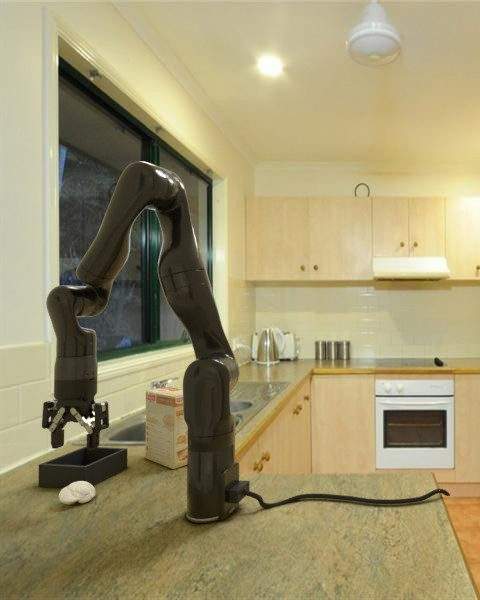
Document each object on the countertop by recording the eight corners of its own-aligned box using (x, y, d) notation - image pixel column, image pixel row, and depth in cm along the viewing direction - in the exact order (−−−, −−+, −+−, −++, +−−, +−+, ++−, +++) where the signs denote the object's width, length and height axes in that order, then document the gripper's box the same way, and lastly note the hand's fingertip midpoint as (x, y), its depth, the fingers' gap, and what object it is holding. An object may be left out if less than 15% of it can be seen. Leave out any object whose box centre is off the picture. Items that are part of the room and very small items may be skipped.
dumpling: (83, 495, 93) (89, 477, 94) (97, 503, 91) (103, 486, 92) (48, 503, 87) (55, 484, 87) (62, 512, 85) (68, 493, 85)
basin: (127, 468, 108) (127, 448, 108) (85, 489, 95) (85, 467, 95) (85, 465, 109) (85, 446, 109) (38, 486, 97) (38, 464, 97)
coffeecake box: (198, 461, 112) (199, 391, 113) (172, 470, 106) (173, 396, 107) (169, 450, 120) (170, 385, 121) (144, 458, 114) (144, 390, 115)
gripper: (30, 377, 87) (29, 453, 86) (90, 379, 85) (88, 456, 85) (63, 371, 94) (62, 441, 94) (119, 373, 92) (118, 444, 92)
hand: (75, 448), depth 89 cm, fingers open, 8 cm apart
